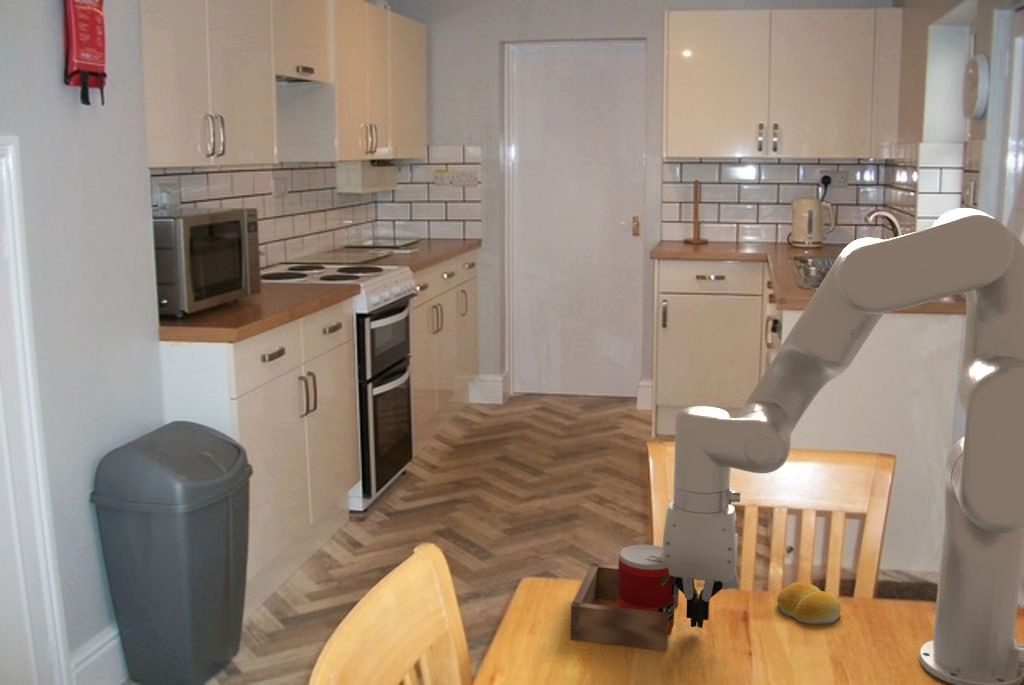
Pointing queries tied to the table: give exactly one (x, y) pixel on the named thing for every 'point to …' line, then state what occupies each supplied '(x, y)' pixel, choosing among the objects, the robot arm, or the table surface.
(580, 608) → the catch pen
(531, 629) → the table surface
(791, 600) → the bread roll
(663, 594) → the canned food
